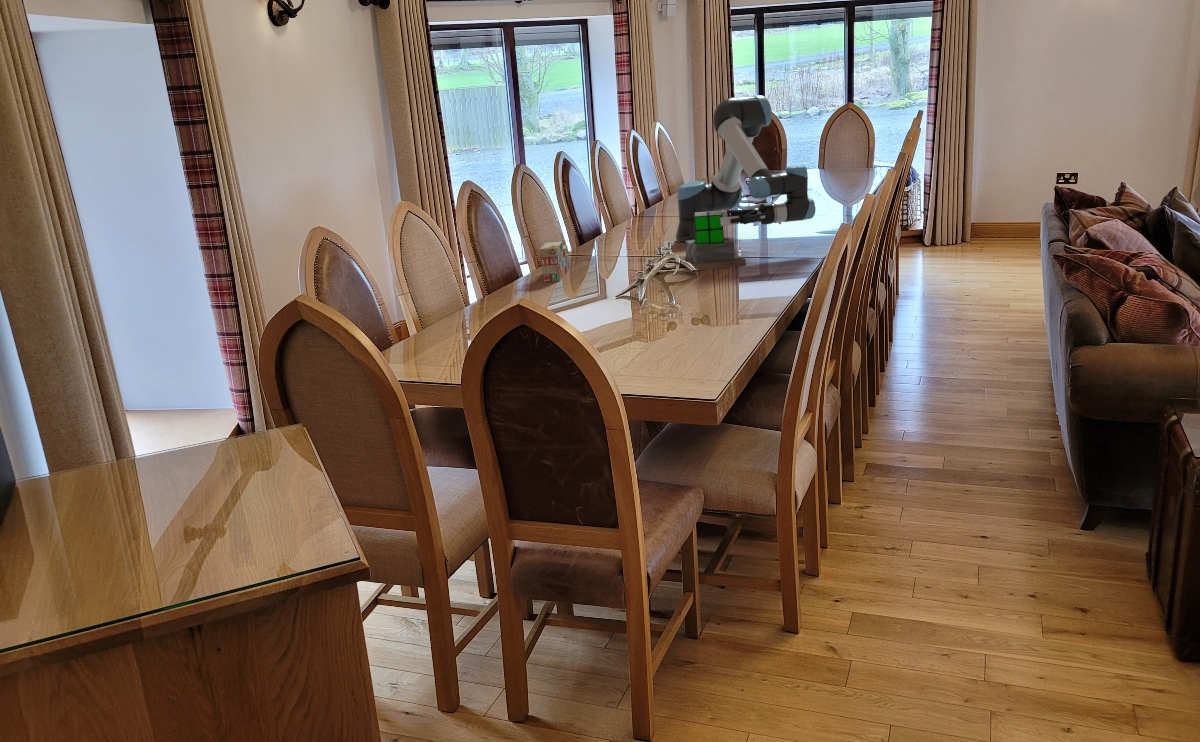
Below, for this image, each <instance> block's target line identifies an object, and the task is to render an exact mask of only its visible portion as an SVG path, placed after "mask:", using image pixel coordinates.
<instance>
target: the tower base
mask: <svg viewBox="0 0 1200 742" xmlns="http://www.w3.org/2000/svg"><path fill="white" fill-rule="evenodd" d="M735 251H736V250H735V241H732V240H730V239H728V238H726V237H724V242H723V243H709V244H696V242H695V240H688V241H685V255H679V256H678V257H679V258H680V259H682V260H685V261H686V262H689V263H691V264H692V265H693V266H695V267H697V268H698V270H699V271H708V270H713V269H723V268H730V267H731V268H732V267H739V266H746V265H747V260H746V258H744V257H742V256H740V255H738V254H736V253H735Z"/></svg>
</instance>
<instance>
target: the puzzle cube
mask: <svg viewBox="0 0 1200 742" xmlns="http://www.w3.org/2000/svg"><path fill="white" fill-rule="evenodd" d="M722 212H723V210H721V211H710V212H696V213H694V225H695V242H696V244H709V243H723V242H724V238H725V235H724V234H725V233H724V225H723V226H721V221H720V218H723V215H722Z"/></svg>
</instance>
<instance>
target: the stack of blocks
mask: <svg viewBox="0 0 1200 742" xmlns="http://www.w3.org/2000/svg"><path fill="white" fill-rule="evenodd" d="M568 250H569V249H568V245H567V244H565V245H564V244H563V241H552V242H551V241H550V242H549V241H548V242H545V243H544V244H543V245H542V246H541V247H540V248H539V253H540V254H539V255H540V265H541V266H540V267H541V277H542V282H543V281H557V282H561V281H560V280H561V279H562V280H563V278H564V277H565V276H566V274H567V273H568V272H569V271H570V270H571V269H570V257H569V252H568ZM568 270H569V271H568ZM567 271H568V272H567ZM566 272H567V273H566ZM564 275H565V276H564Z"/></svg>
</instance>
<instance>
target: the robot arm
mask: <svg viewBox="0 0 1200 742" xmlns="http://www.w3.org/2000/svg"><path fill="white" fill-rule="evenodd" d="M772 114H773V112H772V106H771V103H770V101H769V100H768V98H767V97H766V96H764V95H760V94H759V95H755V94H753V95H747V96H738V97H729V98H725V99H723V100H721V102H720V103H718V105H717V106H716V108H715V109H714V111H713V115H712V125H713V129H714V130H715V132H716V135H717V136H718V137H719V138H720V139H722V140H724V142H725V143H726V145H727V147H726V150H725V153H724V156H723V159H722V162H721V164H720V168H719V171H718V173H716V174H714V176H713V177H712V179H711V182H710V183H706V181H704V180H696V181H690V182H687V183H684V184H682V185H679V186H678V188H677V206H678V207H677V209H678V220H679V221H678V222H679V223H678V226H677V229H676V230H677V231H676V235H675V241H676V240H677V241H680V242H679V243H683V242H685V241H688V240H695V225H694V213H696V212H710V211H722V215H723V218H720V221H721V226H723V227H724V226H730V225H740V224H741V225H742V224H743V225H747V224H748V225H749V224H752V223H757V222H760V223H761V224H762V225H770V224H771V225H772V224H773V223H774V224H779V225H782V223H787V222H798V221H801V222H802V221H806V220H810V219H813V218H814V217H815V214H816V205H815V204H816V203H815V200H814V199H813V198H811V197H809V194H808V190H809V189H808V184H809V183H808V181H809V176H808V175H809V174H808V168H807V166H806V165H791V166H787V167H786V168H785V172H783V173H776V174H772V173H771V171H770V169H769V168H768V167H767V164H766V163H765V162H764V161H763V158H762V157H761V156H760V155H759V153H758V151H757V150H756V148H755V146H754V145H753V142H754V138H755V137H756V138H757V137H758V136H759V135H760V133H761V131H762V128H765V127H768V126H769V125H770V124H771V122H772V118H773V115H772ZM742 172H744V173H745V175H746V177H747V178H748V180H749V181H748V187H747V188H748V191H749V195H750V196H751V198H754V199H766V198H771V197H778V196H785V195H786V200H780V201H773V202H764V203H761V204H760V205H759V208H758V209H756V208H749V209H747V208H746V209H735V208H737V207H738V206H739V205H740V203H741V202H742V200H743V187H742V184H741V182H740V176H741V173H742ZM677 241H676V242H677Z"/></svg>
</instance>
